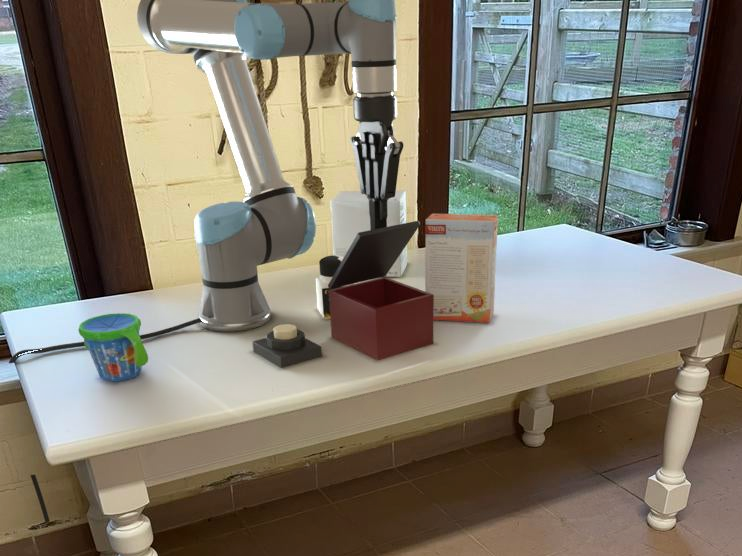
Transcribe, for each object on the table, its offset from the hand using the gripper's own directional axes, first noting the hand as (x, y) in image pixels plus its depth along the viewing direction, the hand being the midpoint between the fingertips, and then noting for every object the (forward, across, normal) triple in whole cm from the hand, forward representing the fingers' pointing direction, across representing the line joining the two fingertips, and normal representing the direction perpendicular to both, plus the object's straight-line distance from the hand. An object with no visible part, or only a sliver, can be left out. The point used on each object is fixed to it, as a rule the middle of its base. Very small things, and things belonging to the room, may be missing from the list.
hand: (378, 236), depth 147 cm
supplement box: (+21, +43, -28) cm, 55 cm away
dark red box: (+20, 0, 0) cm, 20 cm away
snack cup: (+21, +17, +48) cm, 55 cm away
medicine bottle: (+21, +20, -3) cm, 29 cm away
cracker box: (+21, 0, -21) cm, 29 cm away
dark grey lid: (+4, +2, 0) cm, 5 cm away
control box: (+20, +6, +18) cm, 28 cm away
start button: (+17, +6, +18) cm, 26 cm away
